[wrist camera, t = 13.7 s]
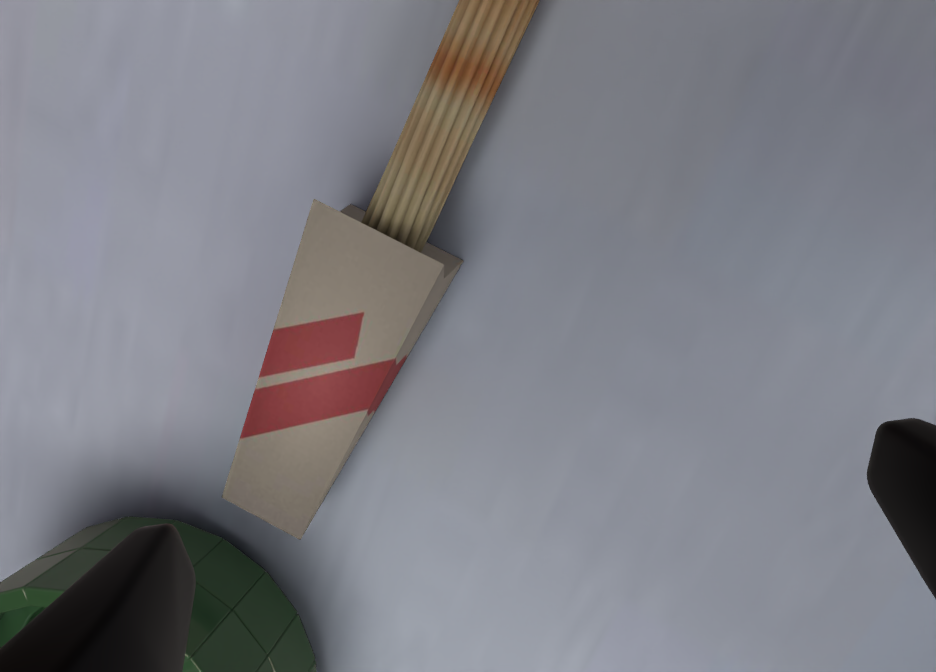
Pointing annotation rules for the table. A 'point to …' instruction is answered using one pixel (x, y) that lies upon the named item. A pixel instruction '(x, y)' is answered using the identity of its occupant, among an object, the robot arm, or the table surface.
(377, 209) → the paintbrush
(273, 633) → the bowl
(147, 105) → the table surface
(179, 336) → the table surface
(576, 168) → the table surface
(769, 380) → the table surface
